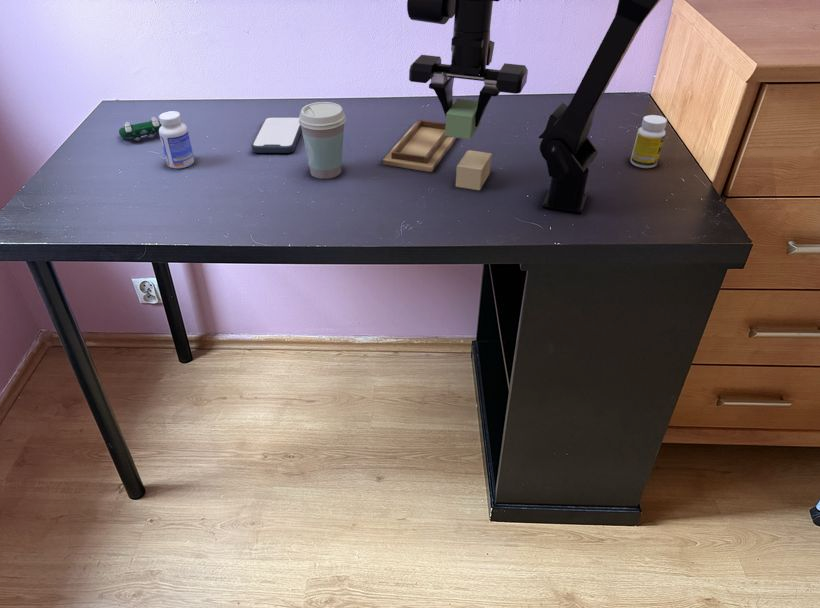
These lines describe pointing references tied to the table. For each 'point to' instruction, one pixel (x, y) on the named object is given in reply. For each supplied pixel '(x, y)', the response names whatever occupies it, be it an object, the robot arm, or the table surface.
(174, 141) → the pill bottle
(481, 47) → the robot arm
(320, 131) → the coffee cup
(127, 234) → the table surface
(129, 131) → the green toy car
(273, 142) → the phone case
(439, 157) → the wooden tray
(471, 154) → the beige rectangular block
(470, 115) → the green rectangular block
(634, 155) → the supplement bottle
